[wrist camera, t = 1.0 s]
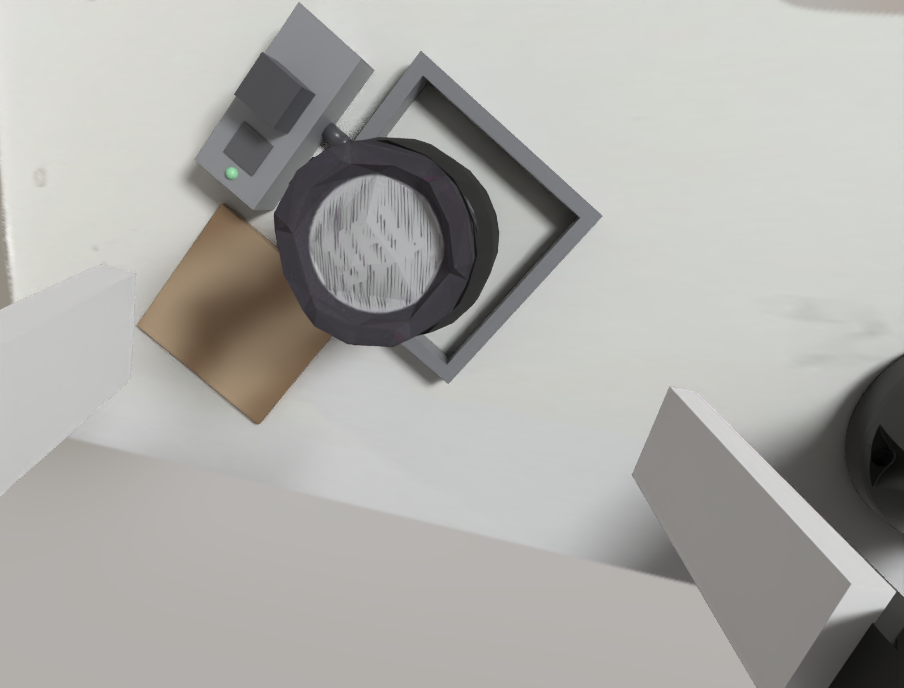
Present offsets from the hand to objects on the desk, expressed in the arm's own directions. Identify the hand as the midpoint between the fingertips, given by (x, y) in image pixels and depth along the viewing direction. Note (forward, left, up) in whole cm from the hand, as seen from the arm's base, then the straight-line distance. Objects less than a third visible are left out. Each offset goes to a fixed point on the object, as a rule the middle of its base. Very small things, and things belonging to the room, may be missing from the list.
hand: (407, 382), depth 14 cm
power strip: (+16, +1, -27) cm, 32 cm away
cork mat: (+11, +15, -27) cm, 33 cm away
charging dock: (+5, 0, -27) cm, 28 cm away
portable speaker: (+4, 0, -28) cm, 28 cm away
